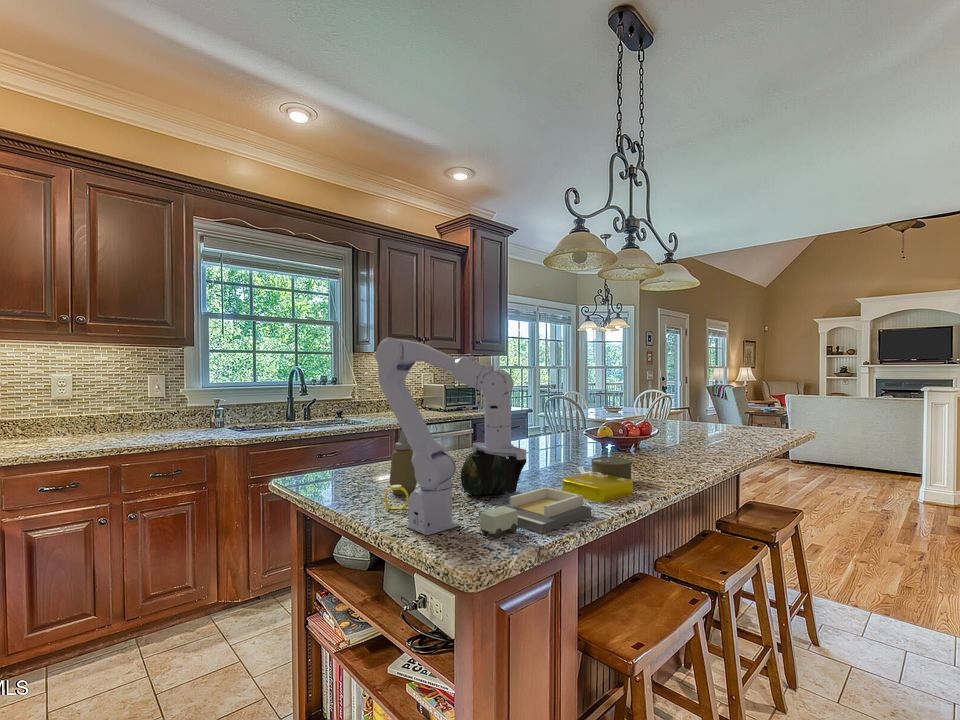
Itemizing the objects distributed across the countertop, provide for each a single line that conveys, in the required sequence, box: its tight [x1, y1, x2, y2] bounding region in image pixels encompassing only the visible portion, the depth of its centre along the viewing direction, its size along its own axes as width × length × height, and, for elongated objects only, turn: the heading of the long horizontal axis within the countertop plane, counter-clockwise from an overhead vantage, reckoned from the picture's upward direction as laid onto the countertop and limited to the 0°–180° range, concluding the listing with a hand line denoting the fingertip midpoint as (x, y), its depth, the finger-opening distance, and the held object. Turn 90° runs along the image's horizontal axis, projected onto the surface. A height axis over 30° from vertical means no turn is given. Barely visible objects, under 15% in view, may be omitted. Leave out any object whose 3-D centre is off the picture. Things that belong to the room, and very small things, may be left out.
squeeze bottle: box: [389, 429, 418, 496], centre depth 136 cm, size 8×8×18 cm
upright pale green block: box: [479, 505, 518, 539], centre depth 102 cm, size 7×4×5 cm, turn 133°
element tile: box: [561, 471, 634, 504], centre depth 134 cm, size 15×15×5 cm
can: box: [591, 456, 632, 480], centre depth 146 cm, size 12×12×7 cm
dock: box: [489, 486, 592, 534], centre depth 113 cm, size 18×16×4 cm
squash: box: [460, 452, 508, 497], centre depth 135 cm, size 14×15×15 cm
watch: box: [384, 485, 409, 510], centre depth 120 cm, size 6×3×6 cm, turn 93°
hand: (498, 489), depth 102 cm, fingers open, 7 cm apart
